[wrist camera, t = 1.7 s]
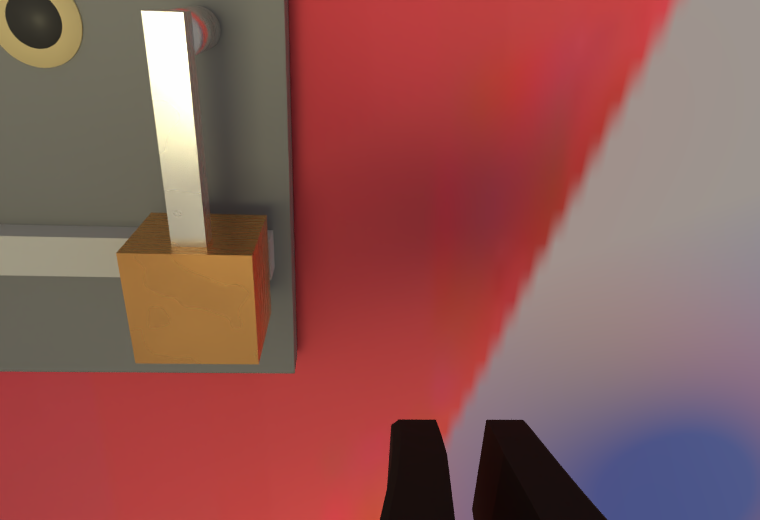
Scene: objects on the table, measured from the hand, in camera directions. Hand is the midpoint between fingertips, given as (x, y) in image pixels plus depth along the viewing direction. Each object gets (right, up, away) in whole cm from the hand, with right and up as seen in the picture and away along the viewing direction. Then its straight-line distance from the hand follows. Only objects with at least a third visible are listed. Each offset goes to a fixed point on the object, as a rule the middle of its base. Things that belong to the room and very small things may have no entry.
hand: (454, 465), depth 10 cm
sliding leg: (-6, +6, +6) cm, 10 cm away
